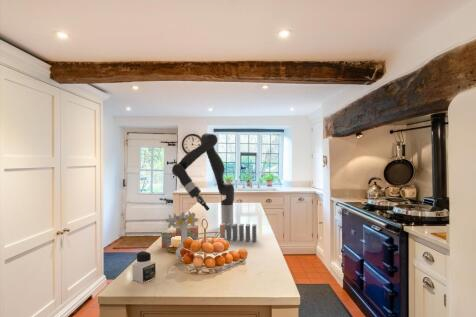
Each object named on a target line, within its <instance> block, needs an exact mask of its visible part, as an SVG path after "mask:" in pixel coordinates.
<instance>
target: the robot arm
mask: <svg viewBox="0 0 476 317" xmlns="http://www.w3.org/2000/svg"><path fill="white" fill-rule="evenodd" d="M200 141H201V143H200V145H199V146H198V147H195V148H194V149H192V150H190V151H189V152H187V153H186V155H184V156H183V157H182V158H181V160H180V161H179V162H178V163H175V164H174V165H172V169H171V170H172V171H171V173H172V175H173V176H175V177H177V179H178V180H179V183H180V184H181V185H182V187H184V189H185V191H186V192H187V194H188V195H189V197H190V198H191V199H194V198H195V199H196V201H197V202H198V203H199V204H200V205H201V206H202V207H203V208H204V209H205V211H206V212H208V211H209V210H210V207H209V206H208V205H207V203H206V201H205V199H204V198H203V196H202V195H200V193H201V192H202V191H201V189H200V188H199V187H198V185H197V184H196V182H195V181H193V179H192V178H191V177H190V176H189V174H188V172H187V171H186V170H187V168H189V167H190V166H191V165H192V164H193V163H194V162H195V161H196V160H197V159H198V158H200V157H201V156H203V155H204V154H205V153H206V155H207V159H208V161H209V164H210V167H211V170H212V172H213V175H214V179H215V181H216V186H217V189H218V192H219V194H220V195H221V196H225V199H222V200H221V202H220V208H221V209H220V214H221V216H220V217H221V221H220V222H221V224H222V223H225V229H226V225H227V224H228V223H231V228H233V225H234V200H235V186H234V184H233V183H225V180H224V174H225V164H224V161H223V159H222V157H221V156H220V155H219V153H218V152H217V150H216V149H215V146H216V145H217V143H218V137H217V135H216V134H214V133H206V132H205V133H203V134H202V135H201V137H200ZM221 224H220V225H221Z"/></svg>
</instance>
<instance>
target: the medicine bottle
mask: <svg viewBox="0 0 476 317" xmlns="http://www.w3.org/2000/svg"><path fill="white" fill-rule="evenodd" d="M156 269H157V268H156V261H153V260H152V253H151V251H150V250H142V251H139V252H138V253H137V254H136V262H135V263H133V264H132V281H134V280H135V282H137V281H138V282H137V283H140V282H142V283H141V284H145V283H147V282H146V281H148V280H150V279H152V278H154V279H155V278H156V277H157V276H156V275H157V274H156V271H157V270H156ZM152 280H153V279H152ZM150 281H151V280H150ZM144 282H145V283H144ZM148 282H149V281H148Z"/></svg>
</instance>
